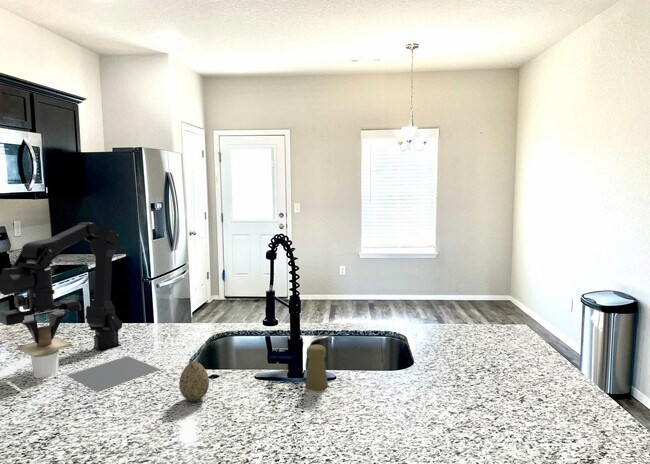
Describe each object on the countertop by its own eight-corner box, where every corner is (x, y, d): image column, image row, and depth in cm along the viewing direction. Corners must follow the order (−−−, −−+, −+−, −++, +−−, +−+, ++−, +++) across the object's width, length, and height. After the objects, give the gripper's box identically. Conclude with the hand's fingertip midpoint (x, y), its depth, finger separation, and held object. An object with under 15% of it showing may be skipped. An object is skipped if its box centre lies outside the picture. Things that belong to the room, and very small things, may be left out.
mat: (128, 357, 138) (127, 355, 138) (160, 371, 127) (160, 369, 127) (67, 377, 124) (66, 375, 124) (97, 394, 113) (97, 392, 113)
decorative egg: (214, 400, 109) (213, 361, 108) (187, 409, 105) (185, 369, 104) (201, 390, 115) (200, 353, 114) (175, 399, 110) (173, 360, 109)
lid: (56, 339, 131) (55, 320, 131) (71, 346, 125) (70, 326, 125) (17, 349, 123) (16, 329, 123) (31, 356, 117) (30, 335, 117)
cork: (325, 392, 113) (325, 350, 112) (302, 390, 114) (302, 349, 113) (329, 382, 119) (329, 342, 118) (308, 380, 120) (307, 341, 119)
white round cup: (65, 371, 128) (64, 348, 128) (48, 381, 121) (47, 356, 121) (44, 370, 129) (42, 347, 128) (26, 380, 122) (24, 356, 121)
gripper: (63, 278, 135) (66, 327, 137) (-10, 289, 120) (-5, 344, 122) (80, 282, 128) (83, 334, 130) (5, 294, 114) (9, 353, 115)
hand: (44, 341), depth 124 cm, fingers closed on lid, 3 cm apart
